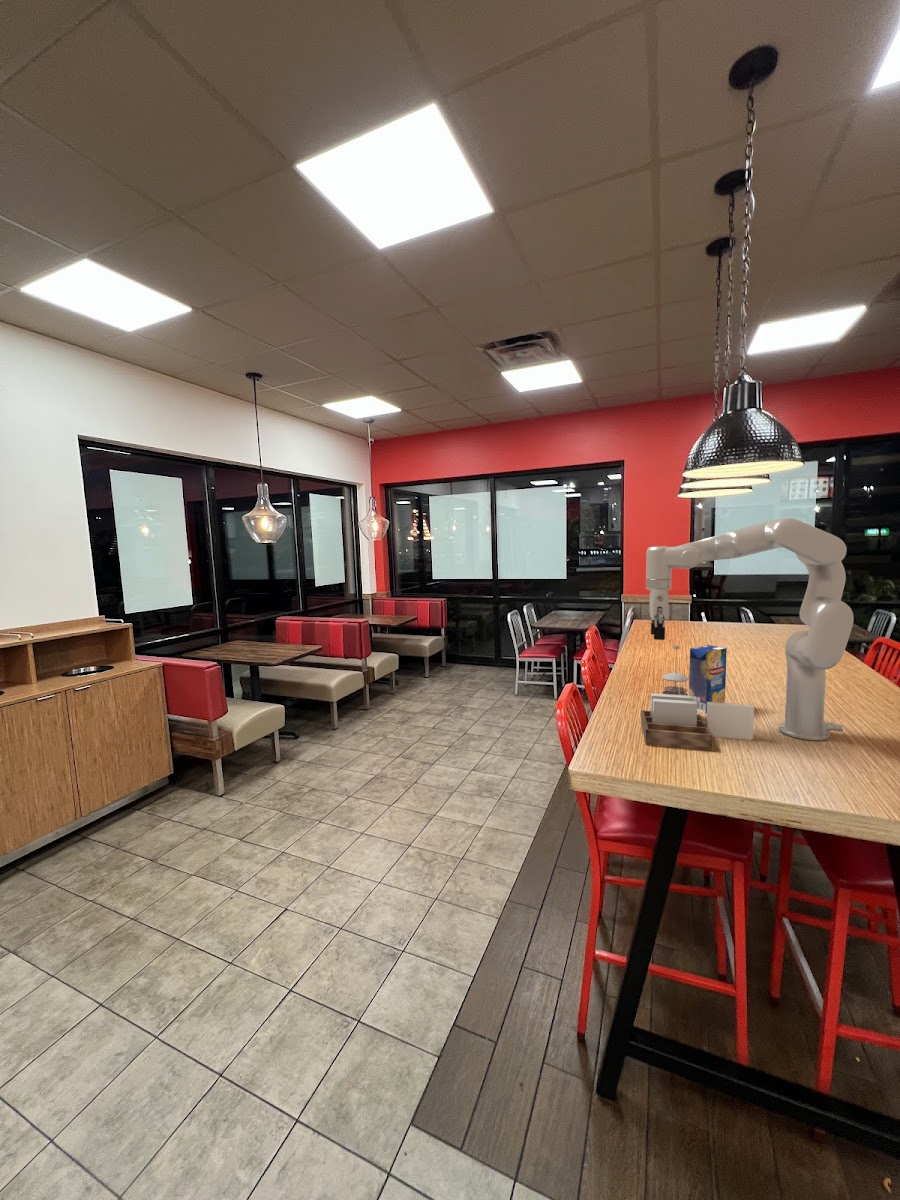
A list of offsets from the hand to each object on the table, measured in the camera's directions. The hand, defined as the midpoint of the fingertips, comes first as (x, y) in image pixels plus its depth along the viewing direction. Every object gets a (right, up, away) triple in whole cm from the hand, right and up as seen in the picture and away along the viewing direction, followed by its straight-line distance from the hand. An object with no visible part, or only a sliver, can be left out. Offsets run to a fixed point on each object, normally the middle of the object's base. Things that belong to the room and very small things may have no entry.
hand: (657, 636), depth 155 cm
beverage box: (+25, -27, +16) cm, 40 cm away
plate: (+18, -30, -10) cm, 36 cm away
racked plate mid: (+1, -30, -9) cm, 31 cm away
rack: (+1, -30, -9) cm, 31 cm away
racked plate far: (+3, -29, -3) cm, 30 cm away
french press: (+9, -28, +7) cm, 31 cm away
